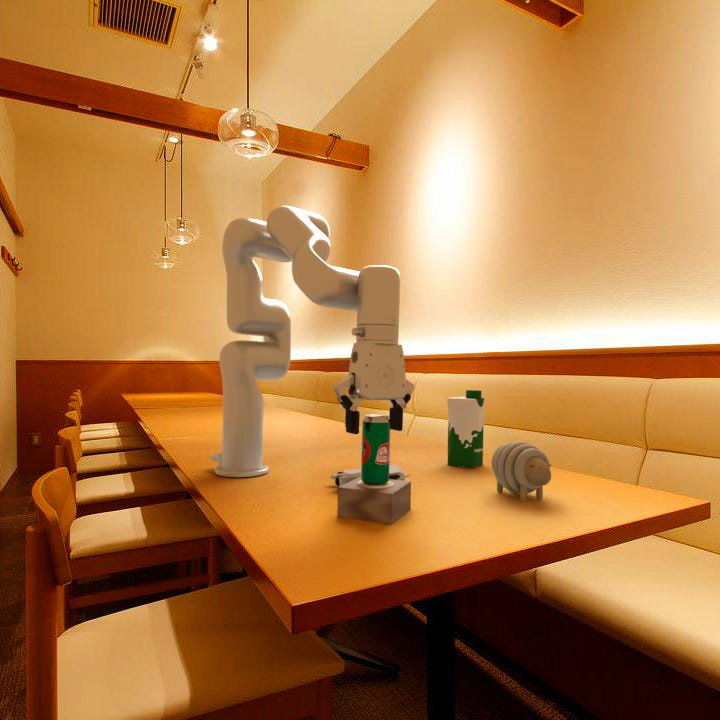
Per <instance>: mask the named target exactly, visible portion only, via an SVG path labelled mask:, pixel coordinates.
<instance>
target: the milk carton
mask: <svg viewBox="0 0 720 720" xmlns="http://www.w3.org/2000/svg"><path fill="white" fill-rule="evenodd" d="M446 399H447V401H446V402H447V465H449V466H453V467H461V468H469V469H473V468H474V469H475V468H476V467H479V466H481V465H484V421H485V420H484V418H485V417H484V416H485V407H486V406H485V405H486V398H485V397H482V390H473V389H471V390H470V389H466V390H465V396H456V397H447V398H446Z"/></svg>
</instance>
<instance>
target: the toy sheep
mask: <svg viewBox="0 0 720 720" xmlns="http://www.w3.org/2000/svg"><path fill="white" fill-rule="evenodd" d="M548 458H549V457H548V456H547V455H546V453H544V452H543V451H542V450H541V449H539V448H538V447H537V446H536V445H533V444H530V443H528V442H525V441H511V442H507V443H503V444H501V445H500V446H498V447H497V448H496V449H495V450H494V452H493V455H492V458H491V468H492V471H493V474H494V476H495V479H496V491H497V493H502V492H503V491H504V489H506V490H507V491H509V492H510V493H513V494H517V495H518V494H519V500H520V501H521V502H522V503H525V502H527V500H528V494H530V493H533V492H535V498H536V500H539V501H542V500H543V499H544V493H543V492H544V486H546V485H548V484H550V482H551V480H552V473H551V467H552V463H550V460H549V459H548Z"/></svg>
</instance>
